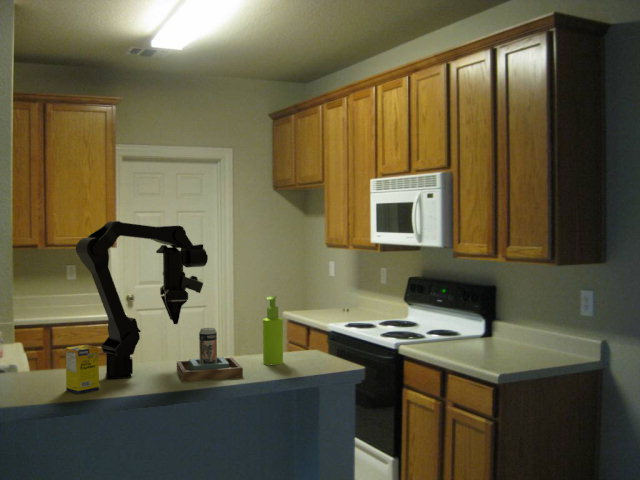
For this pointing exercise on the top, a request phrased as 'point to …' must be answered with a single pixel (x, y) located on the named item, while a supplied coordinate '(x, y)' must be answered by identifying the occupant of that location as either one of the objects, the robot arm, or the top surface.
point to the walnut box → (209, 371)
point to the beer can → (208, 345)
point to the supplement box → (82, 369)
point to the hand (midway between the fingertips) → (174, 321)
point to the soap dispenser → (272, 335)
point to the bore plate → (195, 364)
